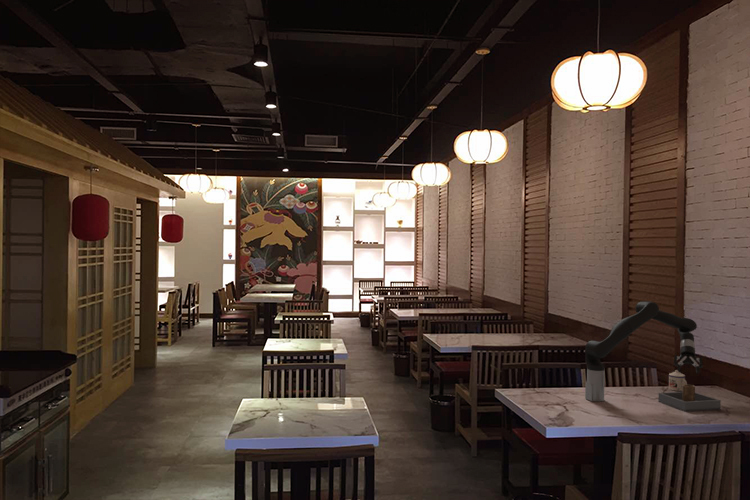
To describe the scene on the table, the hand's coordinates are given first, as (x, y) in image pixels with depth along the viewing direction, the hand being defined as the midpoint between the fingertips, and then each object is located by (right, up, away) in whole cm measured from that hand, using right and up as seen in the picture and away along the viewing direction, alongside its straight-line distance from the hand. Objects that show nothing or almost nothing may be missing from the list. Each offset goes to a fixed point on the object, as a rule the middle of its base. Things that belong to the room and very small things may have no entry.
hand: (688, 372), depth 318 cm
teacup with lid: (+9, -17, +27) cm, 33 cm away
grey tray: (-5, -16, -9) cm, 19 cm away
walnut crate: (-5, -15, -9) cm, 18 cm away
